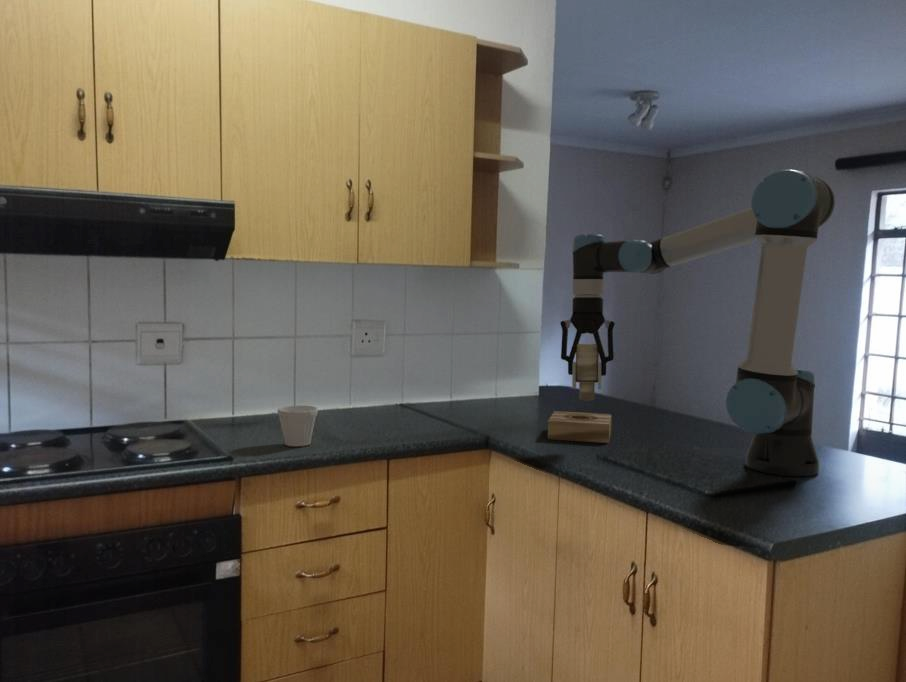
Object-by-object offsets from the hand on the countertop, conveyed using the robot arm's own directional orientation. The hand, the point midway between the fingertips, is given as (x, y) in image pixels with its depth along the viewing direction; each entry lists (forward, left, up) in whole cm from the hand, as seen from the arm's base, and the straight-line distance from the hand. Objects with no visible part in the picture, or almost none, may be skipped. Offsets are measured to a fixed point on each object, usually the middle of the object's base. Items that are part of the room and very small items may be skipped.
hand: (586, 387), depth 181 cm
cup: (-20, +70, -15) cm, 75 cm away
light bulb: (0, 0, -3) cm, 3 cm away
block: (+14, +2, -15) cm, 21 cm away
